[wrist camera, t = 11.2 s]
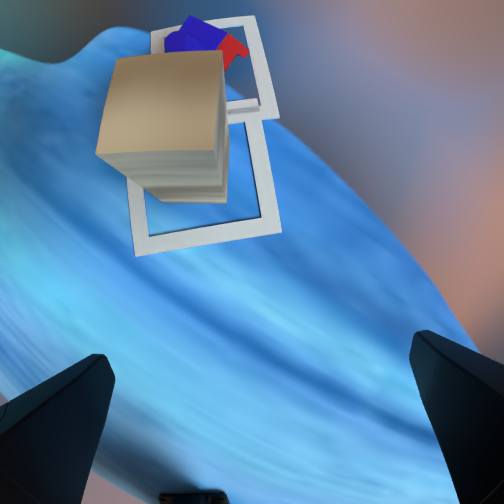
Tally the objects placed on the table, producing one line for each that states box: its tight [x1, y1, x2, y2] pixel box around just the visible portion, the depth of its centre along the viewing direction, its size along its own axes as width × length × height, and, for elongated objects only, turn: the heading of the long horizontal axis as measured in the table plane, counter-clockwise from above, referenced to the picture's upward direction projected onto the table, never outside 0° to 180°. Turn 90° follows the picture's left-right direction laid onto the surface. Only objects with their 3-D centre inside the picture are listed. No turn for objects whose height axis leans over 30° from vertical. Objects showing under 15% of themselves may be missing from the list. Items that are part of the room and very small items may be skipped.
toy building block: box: [164, 15, 250, 72], centre depth 18 cm, size 4×4×8 cm
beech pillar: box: [96, 50, 230, 204], centre depth 15 cm, size 4×4×11 cm
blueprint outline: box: [127, 16, 282, 257], centre depth 21 cm, size 20×12×1 cm, turn 9°
